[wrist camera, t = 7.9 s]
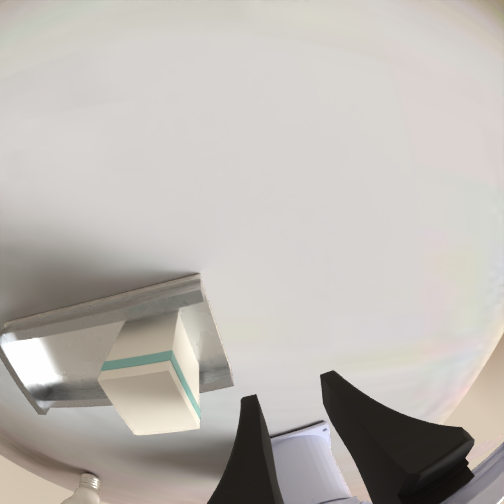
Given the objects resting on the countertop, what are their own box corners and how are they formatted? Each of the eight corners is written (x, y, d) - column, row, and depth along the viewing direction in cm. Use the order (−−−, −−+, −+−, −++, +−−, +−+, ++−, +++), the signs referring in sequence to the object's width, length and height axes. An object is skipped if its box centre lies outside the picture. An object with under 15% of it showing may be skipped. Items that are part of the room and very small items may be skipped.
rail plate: (231, 369, 20) (236, 397, 17) (50, 394, 19) (38, 415, 15) (200, 273, 18) (199, 293, 15) (7, 321, 16) (-12, 339, 13)
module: (199, 366, 19) (200, 428, 13) (147, 375, 18) (135, 436, 13) (178, 311, 17) (169, 369, 12) (122, 323, 17) (95, 379, 11)
